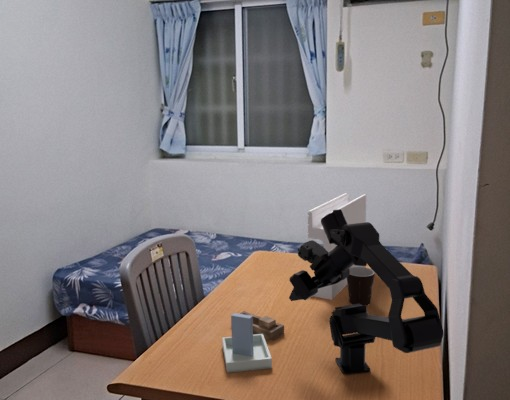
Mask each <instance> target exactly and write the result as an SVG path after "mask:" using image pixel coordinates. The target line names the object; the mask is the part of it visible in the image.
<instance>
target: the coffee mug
mask: <svg viewBox="0 0 510 400" xmlns="http://www.w3.org/2000/svg"><path fill="white" fill-rule="evenodd" d="M349 270H350V275H349V276H348V277H347V285H346V286H347V293H348V301H349V305H353V304H359V303H360V304H361V305H366V307H367V306H369V305H370V304H371V302H372V301H371V300H372V294H373V287H374V282H375V281H374V280H375V275H376V273H375V272H374V271H373V270H372V269H371V268H370V267H366V266H365V267H352V268H349Z"/></svg>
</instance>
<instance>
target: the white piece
mask: <svg viewBox="0 0 510 400" xmlns="http://www.w3.org/2000/svg"><path fill="white" fill-rule="evenodd" d="M338 209H341V210H342V213H343V215H344V217H345V220H346V222H347V224H356V223H365V222H366V221H367V218H366V217H367V194H362V195H360V196H358V197H357V198H354V199H352V200H351V201H350V194H349V193H347V192H345V193H342V194H340V195H338V196H336V197H335V198H332V199H331V200H328V201H326V202H323V203H322V204H320V205H318V206H316V207H313V208H312V209H310V210H307V215H308V216H307V239H312V240H319V241H320V242H322V244H323V245H322V246H323V248H325V249H326V251H328V252H330V251H332V250H333V249H334V248H335V247H336V246H337V245H335V244H330V243H329V241H328V238H327V236H326V234H325V231H324V229H323V226H322V224H321V219H322V218H324V217H325V216H326V215H328V214H330V213H332V212H333V210H338ZM352 267H365V268H366V266H356V265H352V266H351V267H350V268H352ZM346 286H348V285H347V278H345V279H344V280H342V281H340V282H338V283H336V284H333V285H329V286H326V287H322V288H319V289H318V292H317V293H316V294H315V295H313V296H312V297H316V298H321V299H325V300H326V299H327V300H330V301H331V300H332V301H333V299H334V298H335V297H336V296H337V295H338V294H339V293H340V292H341V291H342V290H343V289H345V287H346Z"/></svg>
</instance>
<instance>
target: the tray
mask: <svg viewBox="0 0 510 400" xmlns="http://www.w3.org/2000/svg"><path fill="white" fill-rule="evenodd" d="M221 340H222V341H221V346H222V351H223V352H222V353H223V358H224V363H225V370H226V373H227V374H229V373H238V372H239V373H240V372H249V371H258V370H260V371H261V370H268V369H273V359H272V356H271V352H270V350H269V348H268V344H267V341H266V339H265V338H264V335H263V334H255V335H254V334H253V351H254V354H253V355H252V356H251V357H250V356H244V355H239V354H234V353H232V336H226V337H224V336H223V337H221Z"/></svg>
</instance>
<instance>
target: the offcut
mask: <svg viewBox="0 0 510 400" xmlns="http://www.w3.org/2000/svg"><path fill="white" fill-rule="evenodd" d="M261 317H262V316H261ZM276 323H277V320H276V318H272V317H269V316H267V315H264V316H263V317H262V318H260V319H259V326H261V327H264V328H266V329H269V330H271V329H273V328H275V327H276Z"/></svg>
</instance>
